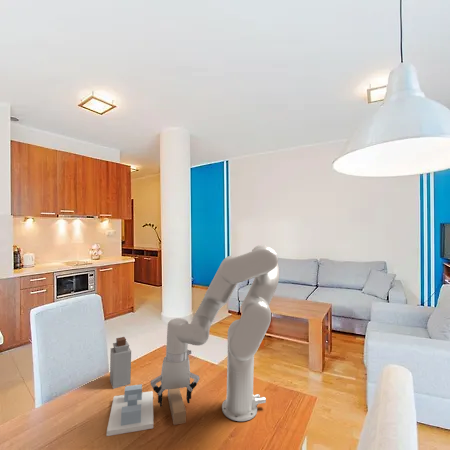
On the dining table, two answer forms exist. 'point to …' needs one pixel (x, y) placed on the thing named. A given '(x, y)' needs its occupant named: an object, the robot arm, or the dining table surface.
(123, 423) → the stand
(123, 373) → the perfume bottle
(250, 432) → the dining table surface
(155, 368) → the dining table surface
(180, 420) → the long tan plank
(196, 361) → the dining table surface
